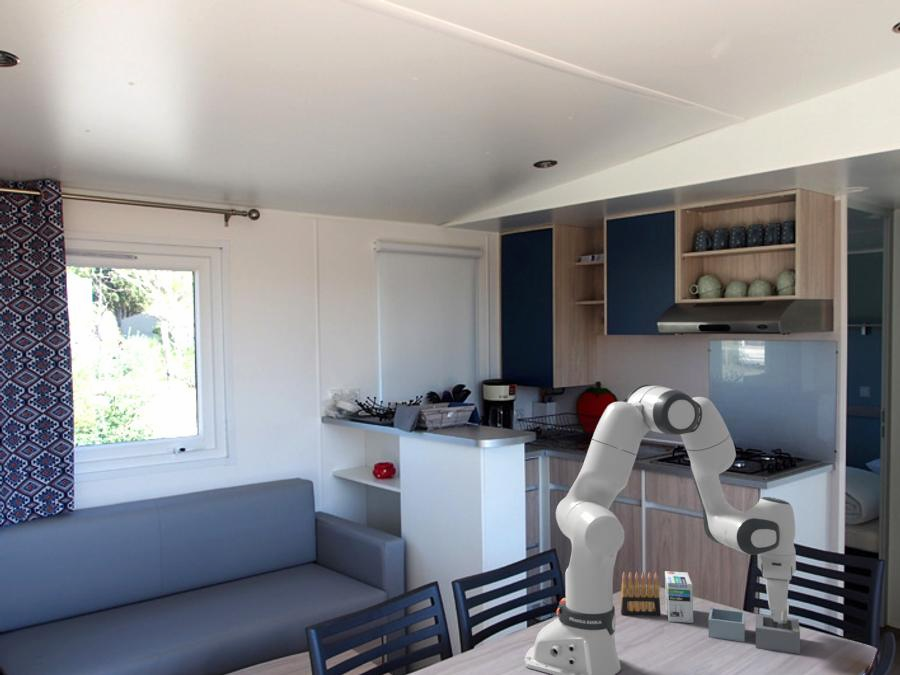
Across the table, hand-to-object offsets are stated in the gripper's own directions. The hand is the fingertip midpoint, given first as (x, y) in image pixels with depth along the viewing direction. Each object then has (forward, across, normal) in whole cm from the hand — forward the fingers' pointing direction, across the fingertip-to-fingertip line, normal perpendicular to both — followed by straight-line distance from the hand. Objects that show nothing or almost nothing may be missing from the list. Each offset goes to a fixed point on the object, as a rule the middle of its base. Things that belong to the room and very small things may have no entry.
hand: (777, 616), depth 185 cm
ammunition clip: (+7, -7, -35) cm, 36 cm away
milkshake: (+5, 0, 0) cm, 5 cm away
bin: (+7, -2, -12) cm, 14 cm away
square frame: (+7, 0, 0) cm, 7 cm away
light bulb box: (+7, -10, -25) cm, 28 cm away
